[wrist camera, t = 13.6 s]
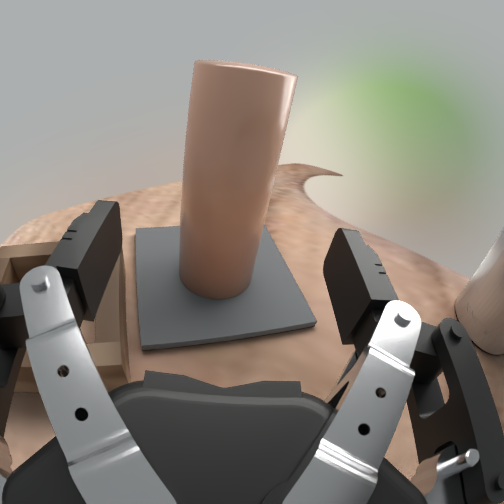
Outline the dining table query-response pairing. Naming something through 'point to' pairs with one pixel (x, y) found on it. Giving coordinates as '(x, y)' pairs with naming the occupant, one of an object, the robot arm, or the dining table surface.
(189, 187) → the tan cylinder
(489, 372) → the dining table surface
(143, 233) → the charcoal mat
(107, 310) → the walnut collar
